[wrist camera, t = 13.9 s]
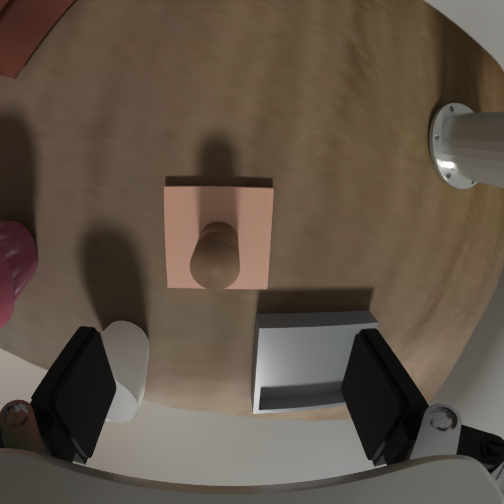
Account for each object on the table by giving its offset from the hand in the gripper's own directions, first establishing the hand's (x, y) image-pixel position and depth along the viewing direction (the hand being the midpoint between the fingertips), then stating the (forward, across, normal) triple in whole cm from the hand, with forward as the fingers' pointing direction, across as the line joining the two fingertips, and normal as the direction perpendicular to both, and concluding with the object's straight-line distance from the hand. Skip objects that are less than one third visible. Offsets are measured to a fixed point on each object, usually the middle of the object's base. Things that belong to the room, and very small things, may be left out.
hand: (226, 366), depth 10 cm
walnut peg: (+24, +1, +3) cm, 24 cm away
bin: (+25, -11, +21) cm, 35 cm away
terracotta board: (+25, +2, +3) cm, 25 cm away
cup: (+25, +15, +18) cm, 34 cm away
